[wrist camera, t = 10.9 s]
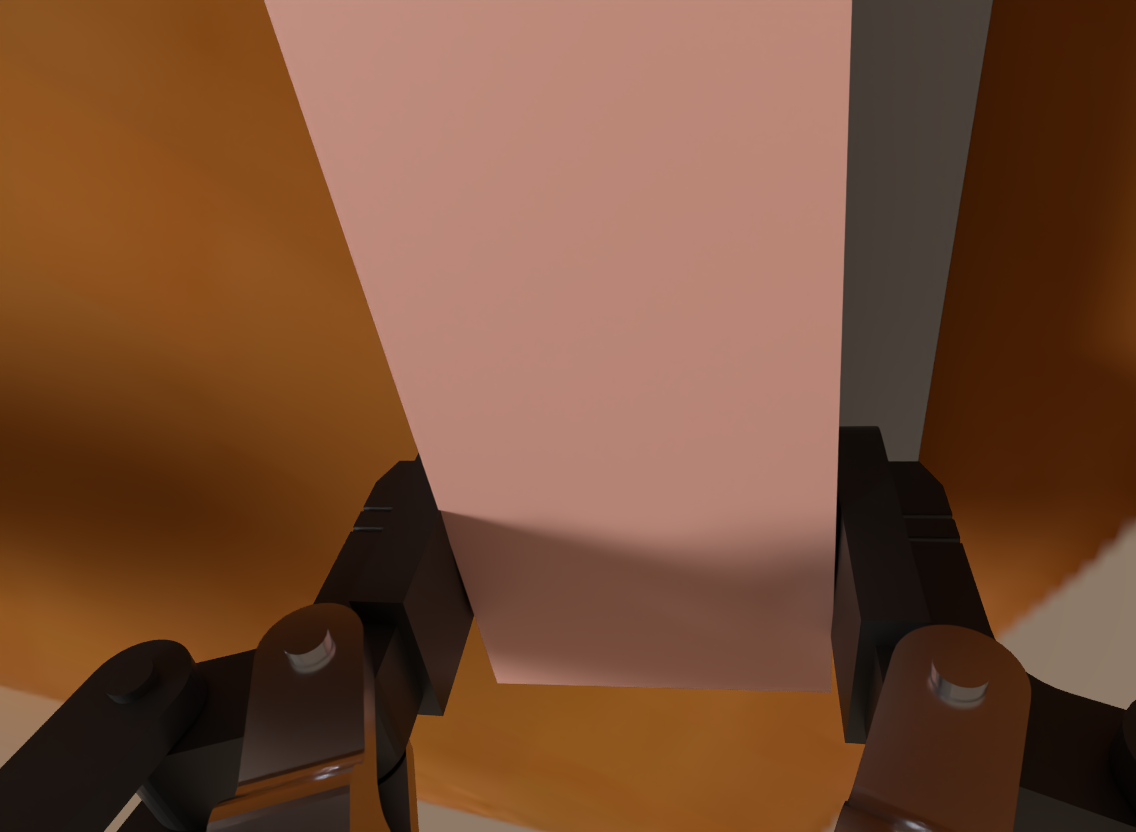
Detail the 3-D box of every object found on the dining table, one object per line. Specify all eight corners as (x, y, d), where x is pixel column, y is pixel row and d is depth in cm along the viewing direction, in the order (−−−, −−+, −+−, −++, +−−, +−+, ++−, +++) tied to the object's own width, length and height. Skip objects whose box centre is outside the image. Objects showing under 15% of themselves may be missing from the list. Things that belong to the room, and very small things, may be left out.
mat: (172, -558, 9) (141, -580, 8) (1105, -816, 7) (1133, -862, 6) (455, 495, 17) (448, 514, 17) (902, 499, 16) (908, 520, 15)
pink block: (237, -585, 7) (-5, -789, 5) (823, -795, 6) (888, -1191, 4) (533, 546, 15) (497, 682, 13) (812, 543, 14) (830, 692, 12)
